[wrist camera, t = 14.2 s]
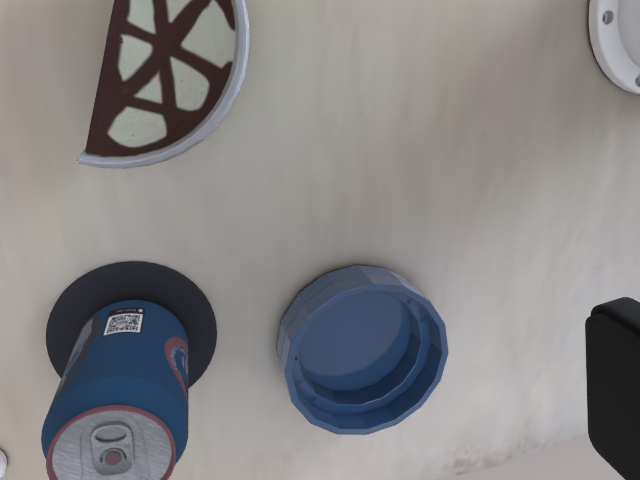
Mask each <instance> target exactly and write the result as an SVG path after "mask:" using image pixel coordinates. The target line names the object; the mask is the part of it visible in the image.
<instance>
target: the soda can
mask: <svg viewBox="0 0 640 480" xmlns="http://www.w3.org/2000/svg"><path fill="white" fill-rule="evenodd" d="M187 439H188V339H187V335H186V332H185V330H184V328H183V326H182V324H181V323H180V321H179V320H178V319H177V318H176V317H175V316H174V315H173V314H172V313H171V312H170V311H168V310H167V309H165V308H164V307H162V306H160V305H157V304H155V303H152V302H148V301H141V300H127V301H121V302H117V303H114V304H111V305H108V306H106V307H104V308H102V309H101V310H99V311H98V312H96V313H95V314H94V315H93V316H91V317H90V318H89V320H88V321H87V322H86V323H85V324H84V326H83V328H82V329H81V331H80V334H79V336H78V339H77V341H76V344H75V346H74V349H73V351H72V354H71V356H70V359H69V361H68V364H67V366H66V369H65V371H64V374H63V376H62V379H61V381H60V384H59V387H58V389H57V392H56V394H55V397H54V399H53V402H52V404H51V407H50V409H49V412H48V414H47V417H46V419H45V422H44V425H43V429H42V436H41V442H42V449H43V453H44V456H45V458H46V468H47V473H48V476H49V479H50V480H168V479H169V477H170V475H171V473H172V471H173V468H174V466H175V465H176V463H177V462H178V460H179V459H180V457H181V456H182V454H183V452H184V450H185V447H186V444H187Z"/></svg>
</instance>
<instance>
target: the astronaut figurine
mask: <svg viewBox="0 0 640 480" xmlns="http://www.w3.org/2000/svg"><path fill="white" fill-rule="evenodd" d="M6 466H7V459H6V456H5V454H4V453H3V452H2V451H1V450H0V478H1V477H2V476H3V475H4V474H5V471H6Z"/></svg>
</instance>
